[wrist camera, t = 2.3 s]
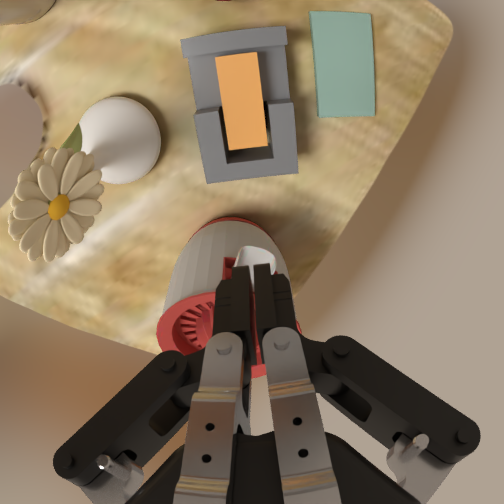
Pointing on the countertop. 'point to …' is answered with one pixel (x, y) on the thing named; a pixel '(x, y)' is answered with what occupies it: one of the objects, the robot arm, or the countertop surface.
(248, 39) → the kitting block
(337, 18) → the mat
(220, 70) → the plank
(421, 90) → the countertop surface
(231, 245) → the citrus juicer
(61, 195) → the flower in vase
